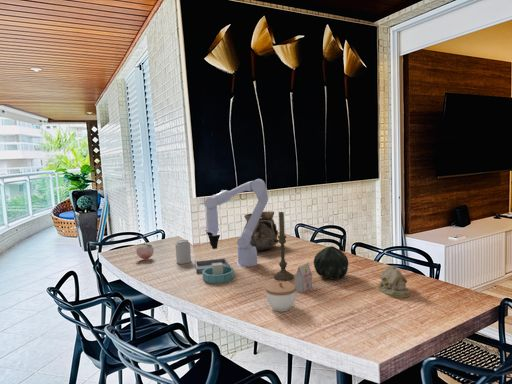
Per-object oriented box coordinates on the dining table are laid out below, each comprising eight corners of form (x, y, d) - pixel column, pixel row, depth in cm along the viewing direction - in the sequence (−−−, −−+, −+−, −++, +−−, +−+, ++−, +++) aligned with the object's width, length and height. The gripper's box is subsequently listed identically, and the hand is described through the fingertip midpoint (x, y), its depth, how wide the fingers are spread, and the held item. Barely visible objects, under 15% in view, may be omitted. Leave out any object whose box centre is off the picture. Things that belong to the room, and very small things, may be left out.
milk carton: (295, 291, 143) (294, 266, 142) (304, 286, 148) (304, 262, 147) (302, 293, 140) (302, 268, 139) (312, 287, 145) (311, 263, 144)
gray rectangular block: (222, 275, 164) (221, 262, 164) (223, 277, 160) (222, 264, 160) (212, 276, 163) (211, 263, 163) (213, 279, 159) (212, 265, 159)
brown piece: (256, 242, 229) (254, 209, 227) (288, 246, 215) (287, 210, 213) (231, 251, 208) (229, 215, 207) (264, 256, 195) (263, 217, 193)
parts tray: (225, 262, 186) (225, 258, 185) (230, 270, 172) (229, 265, 172) (194, 266, 182) (194, 261, 182) (197, 274, 168) (196, 269, 168)
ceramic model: (372, 286, 145) (372, 262, 144) (399, 284, 146) (399, 260, 145) (389, 299, 131) (389, 272, 130) (418, 297, 132) (418, 270, 131)
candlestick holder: (295, 274, 162) (293, 209, 160) (291, 281, 154) (288, 212, 151) (276, 273, 165) (274, 209, 163) (270, 279, 157) (268, 212, 154)
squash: (329, 256, 169) (317, 237, 161) (358, 263, 159) (346, 243, 150) (316, 282, 163) (302, 263, 155) (345, 291, 152) (332, 271, 144)
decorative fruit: (157, 257, 202) (155, 240, 201) (151, 261, 194) (150, 243, 193) (141, 257, 203) (139, 240, 202) (134, 261, 195) (133, 243, 194)
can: (187, 265, 184) (186, 242, 183) (174, 265, 186) (172, 242, 184) (193, 261, 191) (191, 239, 190) (180, 260, 193) (178, 239, 192)
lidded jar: (264, 303, 132) (263, 278, 131) (293, 300, 133) (292, 276, 132) (268, 315, 121) (267, 288, 120) (299, 313, 122) (298, 286, 121)
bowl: (231, 271, 170) (230, 264, 170) (236, 281, 157) (236, 273, 156) (201, 275, 167) (201, 267, 167) (204, 285, 153) (204, 277, 153)
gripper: (202, 219, 186) (204, 244, 188) (205, 223, 172) (207, 251, 174) (216, 217, 188) (217, 243, 189) (220, 222, 174) (221, 249, 175)
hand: (213, 247), depth 181 cm, fingers open, 7 cm apart
